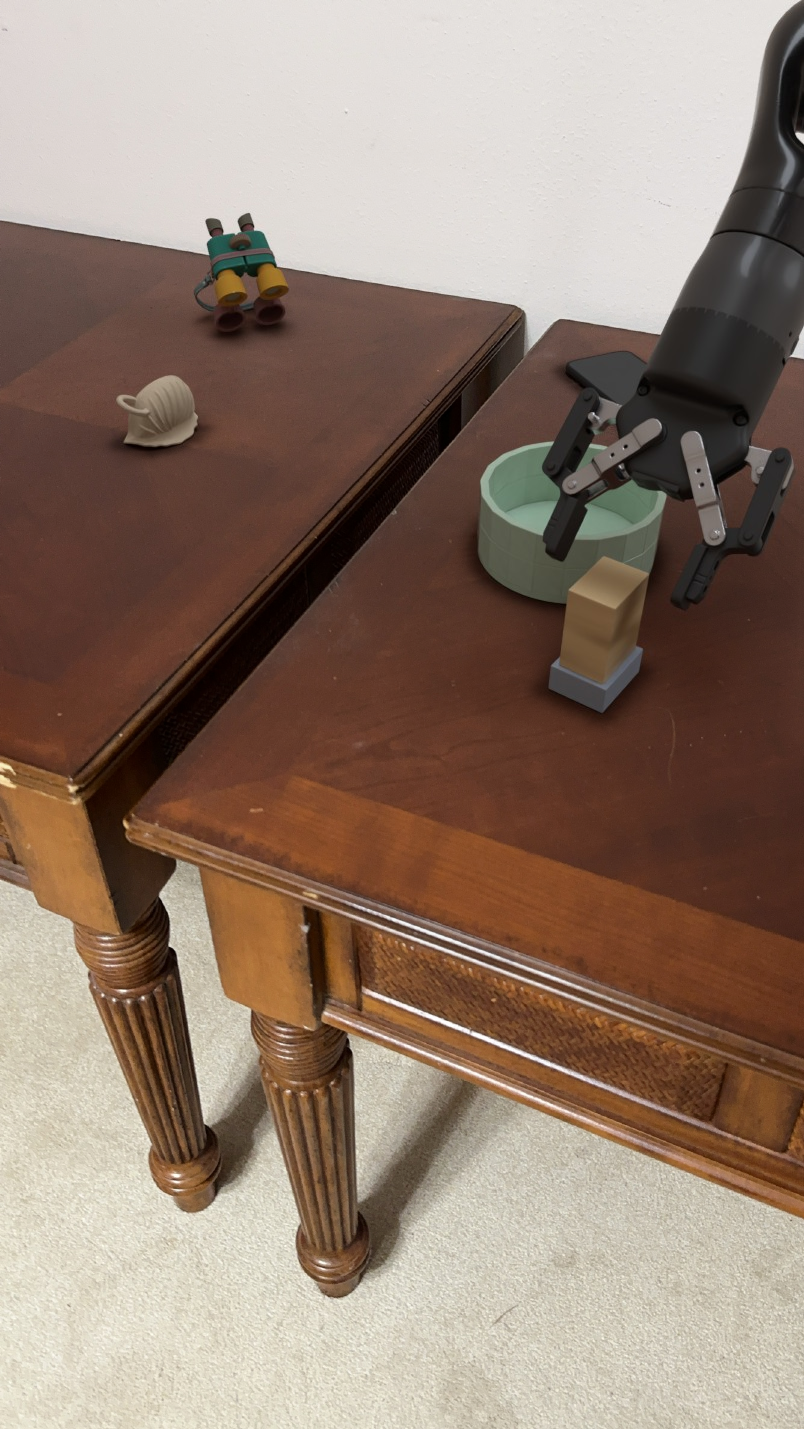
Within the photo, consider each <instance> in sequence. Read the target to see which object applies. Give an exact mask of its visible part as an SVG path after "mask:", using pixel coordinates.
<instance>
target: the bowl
mask: <svg viewBox="0 0 804 1429" xmlns="http://www.w3.org/2000/svg"><path fill="white" fill-rule="evenodd" d="M553 443H554V441H544V442H537V443H532V444H526V445H523V446H521V447H518V448H517V447H516V448H515V449H512V450H510V451H507V452H505V453H502V454H501V455H500V456H499V457H497V458H496V459H494V460H493V461H492V462H491V463H489V464H488V465H487V466H486V469H485V470H484V472H483V474H482V475H481V478H480V481H479V494H478V495H479V496H478V515H477V533H476V534H477V535H476V537H477V539H476V540H477V545H476V546H477V548H476V549H477V556H478V558H479V561H480V563H481V565H482V566H483V568H484V569H485V571H486V572H487V573H488V574H489V576H490V577H492V578H493V579H494V580H495V581H496V582H498V583H499V584H500V585H501V586H504V587H506V588H507V589H509V590H510V591H513V592H515V593H517V594H520V595H521V596H525V597H529V598H531V599H534V600H539V601H542V602H548V603H555V604H566V605H567V597H568V590H569V589H570V588H571V587H572V586H573V585H574V584H575V583H576V582H577V581H578V580H579V579H580V578H581V577H582V576H583V575H584V574H585V573H587V572H588V571H589V570H590V569H591V568H592V567H593V566H594V565H595V564H596V563H597V562H598V561H599V560H600V559H601V558H602V557H603V556H605V557H608V558H610V559H613V560H615V561H618V562H621V563H623V564H626V565H628V566H631V567H634V568H636V569H639V570H641V571H644V572H646V573H649V575H650V574H651V572H652V569H653V567H654V563H655V558H656V555H657V550H658V545H659V540H660V534H661V530H662V525H663V524H662V523H663V518H664V513H665V507H666V503H667V497H668V495H667V494H666V493H664V492H663V491H652V490H647V489H644V488H641V487H638V486H637V484H636V483H635V482H634V481H633V480H631V481H629V482H627V483H626V484H624V485H623V486H621V487H619V488H617V489H615V490H609V491H607V492H605V493H604V494H602V495H601V496H599V497H597V498H596V499H594V500H592V501H591V502H589V503H588V504H586V505H585V507H586V508H587V509H588V511H587V514H586V516H585V518H584V520H583V522H582V524H581V527H580V529H579V531H578V533H577V535H576V537H575V539H574V542H573V544H572V546H571V548H570V550H569V552H568V555H567V557H566V559H565V560H564V561H563V562H560V561H558V560H555V559H553V558H551V557H550V556H549V555H547V554H546V553H545V548H546V544H545V543H544V542H543V532H544V530H545V528H546V526H547V523H548V521H549V519H550V517H551V515H552V513H553V510H554V508H555V506H556V504H557V502H558V500H559V497H560V489H559V488H558V487H557V486H556V485H555V484H554V483H553V482H552V481H551V480H550V479H549V478H548V477H547V476H546V475H545V474H544V472H543V471H542V464H543V462H544V460H545V458H546V456H547V454H548V452H549V450H550V449H551V447H552V445H553ZM607 447H608V446H606V445H602V444H595V443H590V445H589V447H588V449H587V451H586V453H585V455H584V457H583V459H582V460H581V462H580V464H579V466H578V468H577V470H579V469H581V468H582V467H584V466H585V465H587V464H589V463H590V462H591V461H592V458H593V457H594V456H595V455H596V454H598V453H599V452H601V451H603V450H604V449H606V448H607ZM613 457H614V456H613ZM577 470H576V471H577ZM625 472H626V471H625Z"/></svg>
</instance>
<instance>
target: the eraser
mask: <svg viewBox="0 0 804 1429" xmlns="http://www.w3.org/2000/svg"><path fill="white" fill-rule="evenodd" d="M649 578H650V574H649V573H646V572H644V571H641V570H639V569H636V568H634V567H631V566H628V565H626V564H623V563H621V562H618V561H615V560H613V559H610V558H608V557H605V556H603V557H602V558H601V559H600V560H599V561H598V562H597V563H596V564H595V565H594V566H593V567H592V568H591V569H590V570H589V571H588V572H587V573H585V574H584V575H583V576H582V577H581V578H580V579H579V580H578V581H577V582H576V583H575V584H574V585H573V586H572V587H571V588H570V589H569V590H568V597H567V604H566V606H565V615H564V622H563V628H562V629H563V631H562V638H561V645H560V654H559V656H558V658H557V659H555V661H554V662H553V663H552V664H551V665H550V671H549V680H548V690H550V691H553V692H554V693H557V694H559V695H561V696H563V697H566V698H568V699H570V700H572V701H574V702H577V703H579V704H581V705H582V706H585V707H588V708H589V709H592V710H594V711H597V712H598V713H601V714H603V713H604V712H605V711H606V710H607V709H608V707H609V706H610V705H612V703H613V702H614V700H615V699H616V698H617V697H618V696H619V695H620V694H621V693H622V691H623V690H625V688H626V687H627V686H628V685H629V684H630V683H631V681H632V680H633V679H634V678H635V677H636V676H637V674H639V672H640V668H641V664H642V663H641V662H642V657H643V653H644V649H643V648H642V647H640V646H637V643H638V637H639V631H640V627H641V621H642V616H643V610H644V604H645V599H646V595H647V594H646V593H647V588H648V583H649Z"/></svg>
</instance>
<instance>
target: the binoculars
mask: <svg viewBox="0 0 804 1429" xmlns="http://www.w3.org/2000/svg"><path fill="white" fill-rule="evenodd" d="M253 220H254V219H253V217H252V214H251V213H250V212H246V213H244V214H242V215H240V216H239V218H237V224H238V228H239V230H240V231H239V232H237V233H234V232H231V233H226V234H224V232H225V230H224V227H223V225H222V221H221V220H220V219H218V218H214V217H209V218H206V219H205V221H204V222H205V223H204V224H205V225H206V229H207V231H208V234H209V236H210V237H211V238H209V239H208V241H207V242H206V248H207V252H208V256H209V261H210V263H209V264H210V270H209V271H207V272H206V274H205V276H204V278H203V279H202V280H200V281H201V282H200V283H198V284H197V285H196V286H195V287H194V289H193V296H194V299H195V301H196V303H197V304H198V305H199V307H201V308H202V309H204V310H206V311H208V312H212V313H213V318H214V323H215V328H216V329H217V330H219V331H220V332H223V333H224V332H225V333H226V332H227V333H228V332H229V333H230V332H232V331H236V330H238V329H240V328H241V327H243V326H244V324H245V322H246V320H247V316H246V314H245V312H244V311H247V310H251V309H253V312H254V317H255V321H256V322H257V323H258V324H260V325H262V326H270V325H275V324H276V323H278V322H279V321H281V320H283V318H284V317H285V315H286V307H285V306H284V304H283V302H282V301H281V299H280V298H282V297H283V296H286V294H288V293H289V291H290V288H289V285H288V283H287V281H286V278H285V276H284V273H283V271H282V270H281V269H279V268H277V267H278V263H277V262H276V256H275V254H274V252H273V250H272V249H271V247H270V245H269V242H268V240H267V237H266V234H265V233H264V232H263V231H261V230H255V223H254V221H253ZM245 274H246V275H247V276H248V277H250V278H256V280H255V281H256V286H257V290H258V293H259V294H258V295H259V296H257V297H256V299H254V300H253V301H249V302H246V303H243V302H245V301H247V299H248V297H249V295H248V293H247V291H246V290H247V289H245V285H244V283H243V281H242V277H244V275H245ZM215 281H216V282H215ZM214 283H215V284H214ZM213 285H214V292H215V295H216V299H217V303H216V304H215V305H211V304H207V303H206V302H203V301H202V300H201V299H200V298H199V297H198V295H199V293H200V292H201V291H202V290H204V289H206V288H207V287H209V286H213Z"/></svg>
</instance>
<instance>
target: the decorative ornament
mask: <svg viewBox="0 0 804 1429" xmlns="http://www.w3.org/2000/svg"><path fill="white" fill-rule="evenodd" d="M116 403H117V405H118V406H119V407H120V408H121V409H122V410H124V411H125V412H127V413H129V414H128V420H127V434H126V437H125V438H124V440H123V444H131V445H138V446H142V447H152V448H157V447H170V446H175V445H181V444H183V443H184V442H185V441H186V440H188V439H190V438H191V437H192V436H194V433H195V429H196V428H197V427H198V420H199V416H198V415H197V414H196V412H195V409H196V407H195V405H196V404H195V399H194V395H193V393H192V391H191V388H190V387H189V385H188V384H187V383H185V381H184V380H182V379H181V378H180V377H178V376H177V375H173V374H171V375H170V374H169V375H165V376H162V377H159V378H156V379H155V380H153V381H152V382H150V383H149V384H147V385H145V386H144V387H143V389H141V390H140V391H139V392H138V394H137V395H136V396H133V395H128V394H120V395H118V396H117V397H116ZM127 403H129V404H131V405H129V404H127Z"/></svg>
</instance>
